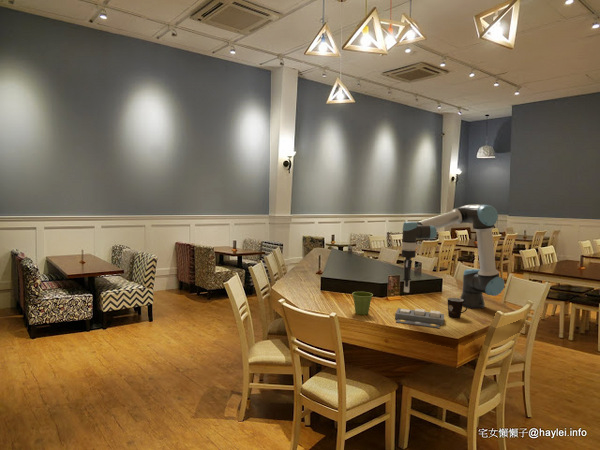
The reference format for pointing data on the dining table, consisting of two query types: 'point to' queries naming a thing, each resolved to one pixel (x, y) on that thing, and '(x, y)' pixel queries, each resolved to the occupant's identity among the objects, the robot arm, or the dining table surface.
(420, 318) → the button board
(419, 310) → the button middle
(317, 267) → the dining table surface
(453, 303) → the coffee mug
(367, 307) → the plant pot
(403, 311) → the button far
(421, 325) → the pattern card
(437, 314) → the button near
